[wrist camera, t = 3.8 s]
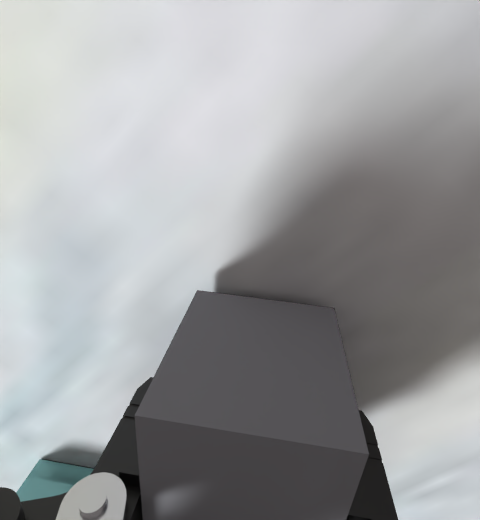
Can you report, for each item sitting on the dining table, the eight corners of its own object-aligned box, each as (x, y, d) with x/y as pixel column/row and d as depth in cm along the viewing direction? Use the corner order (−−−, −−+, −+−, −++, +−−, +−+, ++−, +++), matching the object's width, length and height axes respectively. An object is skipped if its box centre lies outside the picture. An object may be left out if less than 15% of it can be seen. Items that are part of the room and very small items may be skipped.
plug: (197, 290, 10) (134, 415, 6) (334, 308, 10) (369, 454, 6) (193, 466, 13) (151, 624, 9) (294, 484, 13) (298, 657, 9)
